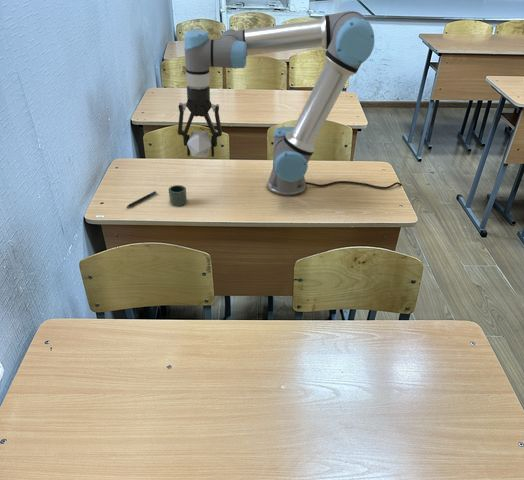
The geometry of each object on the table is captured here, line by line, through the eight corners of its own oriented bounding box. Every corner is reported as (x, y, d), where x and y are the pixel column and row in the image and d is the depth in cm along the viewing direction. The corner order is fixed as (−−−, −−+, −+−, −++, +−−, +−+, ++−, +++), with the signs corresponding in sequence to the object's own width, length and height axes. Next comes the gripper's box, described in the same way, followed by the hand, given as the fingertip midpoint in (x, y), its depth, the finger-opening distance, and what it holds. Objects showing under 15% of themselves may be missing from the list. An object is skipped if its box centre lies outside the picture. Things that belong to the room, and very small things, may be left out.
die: (202, 164, 178) (217, 139, 175) (180, 149, 176) (195, 123, 173) (204, 163, 186) (218, 139, 183) (183, 149, 184) (197, 124, 181)
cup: (187, 198, 195) (186, 185, 191) (186, 206, 190) (185, 192, 186) (171, 198, 195) (169, 185, 191) (169, 206, 190) (167, 192, 186)
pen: (125, 208, 188) (125, 205, 187) (154, 193, 197) (154, 190, 197) (127, 209, 187) (127, 206, 187) (156, 193, 197) (156, 191, 196)
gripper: (230, 84, 170) (230, 151, 185) (167, 81, 169) (173, 149, 184) (229, 90, 164) (229, 160, 180) (165, 88, 163) (170, 158, 179)
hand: (200, 154), depth 182 cm, fingers closed on die, 8 cm apart
